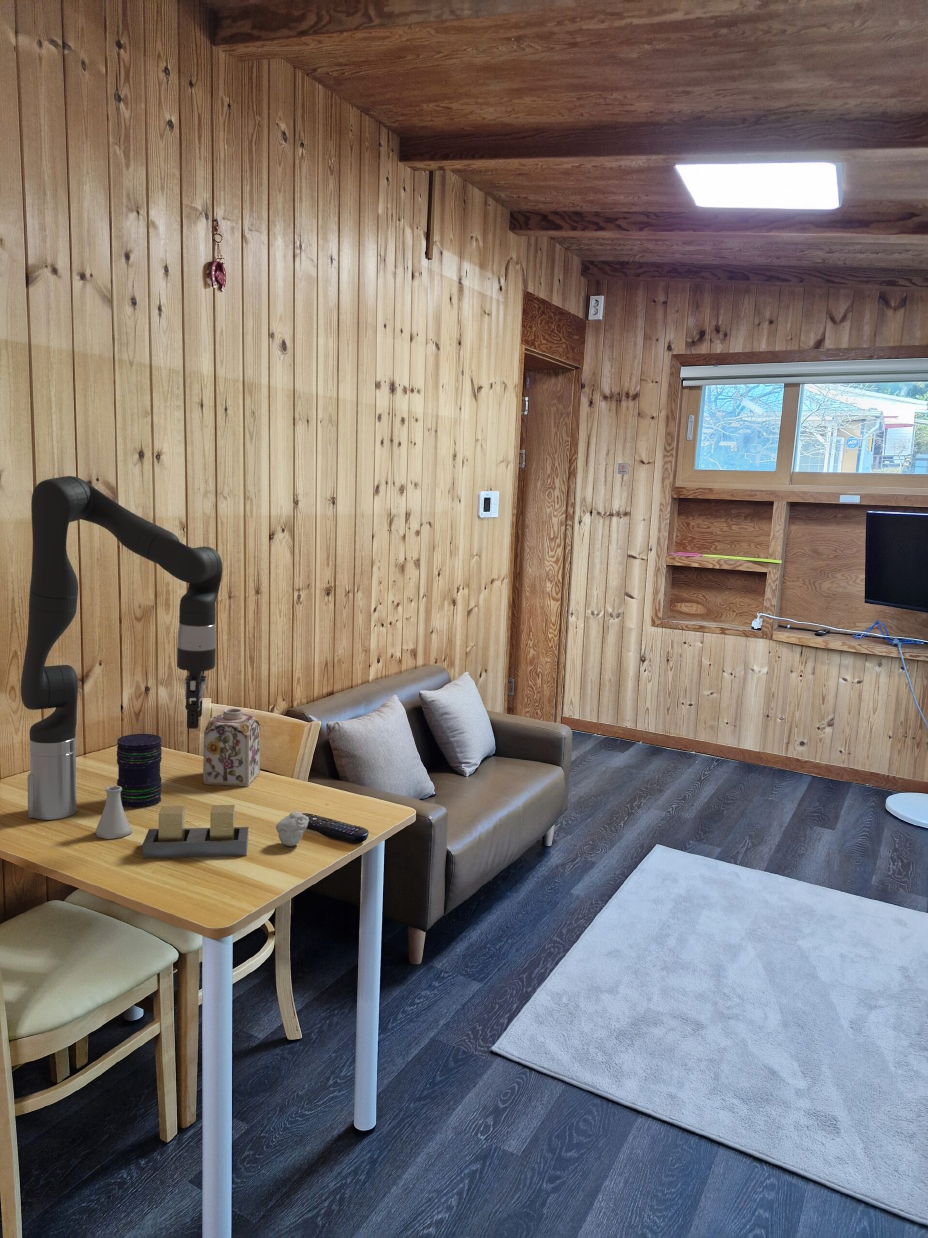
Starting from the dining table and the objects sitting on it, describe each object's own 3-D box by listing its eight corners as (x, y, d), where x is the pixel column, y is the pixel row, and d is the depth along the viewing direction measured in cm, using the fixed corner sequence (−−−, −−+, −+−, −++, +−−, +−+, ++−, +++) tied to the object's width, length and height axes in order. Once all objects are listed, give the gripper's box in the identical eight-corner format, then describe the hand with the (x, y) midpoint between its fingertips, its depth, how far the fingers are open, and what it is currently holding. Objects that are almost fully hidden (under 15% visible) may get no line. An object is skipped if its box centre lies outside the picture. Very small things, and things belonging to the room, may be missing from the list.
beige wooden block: (232, 850, 183) (233, 812, 182) (210, 850, 182) (210, 812, 181) (234, 841, 187) (234, 804, 186) (211, 842, 186) (212, 805, 185)
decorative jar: (216, 770, 235) (217, 703, 233) (260, 773, 235) (262, 706, 232) (201, 785, 223) (202, 714, 221) (248, 787, 223) (249, 717, 221)
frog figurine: (312, 847, 187) (313, 815, 186) (280, 853, 184) (280, 820, 183) (302, 837, 192) (303, 806, 192) (270, 842, 189) (271, 810, 188)
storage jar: (132, 811, 203) (132, 747, 201) (108, 801, 209) (107, 739, 207) (170, 801, 211) (170, 739, 209) (145, 791, 217) (146, 731, 215)
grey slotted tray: (142, 858, 178) (142, 844, 177) (148, 843, 185) (149, 829, 185) (246, 855, 182) (246, 841, 181) (248, 840, 189) (248, 827, 189)
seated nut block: (158, 852, 180) (158, 813, 179) (161, 843, 184) (161, 806, 183) (181, 851, 181) (182, 813, 180) (184, 843, 185) (184, 805, 184)
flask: (120, 824, 195) (120, 780, 194) (138, 833, 190) (138, 788, 189) (88, 833, 189) (88, 787, 188) (106, 842, 185) (106, 796, 183)
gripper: (213, 653, 176) (211, 732, 179) (217, 639, 190) (215, 713, 193) (173, 651, 175) (171, 732, 177) (180, 637, 188) (179, 712, 191)
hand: (194, 722), depth 185 cm, fingers open, 8 cm apart
